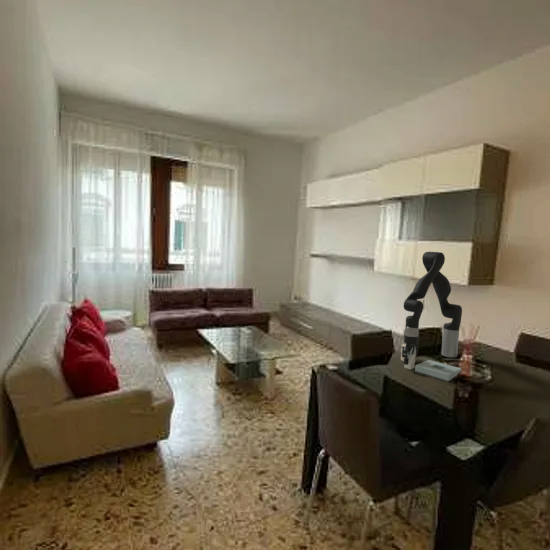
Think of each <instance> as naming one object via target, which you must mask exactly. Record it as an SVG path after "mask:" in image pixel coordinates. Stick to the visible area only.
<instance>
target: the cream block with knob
mask: <svg viewBox="0 0 550 550" xmlns="http://www.w3.org/2000/svg"><path fill="white" fill-rule="evenodd" d="M407 355H408V354H407ZM415 363H416V362H415V354H412V353H411V355H409V360H408V365H406V364H404V363H403V364H404V366H403V368H405V369H407V370H414V369H415Z"/></svg>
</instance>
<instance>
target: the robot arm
mask: <svg viewBox="0 0 550 550" xmlns="http://www.w3.org/2000/svg"><path fill="white" fill-rule="evenodd" d="M445 259H446V257H445V254H444V253H443V252H441V251H440V252H439V251H426V252H424V253H423V254H422V259H421V260H422V264H423V266H424V269H425V270H426V274H424V275H423V276H422V277H421V278H419V280H418V281H417V282H416V283H415V285H414V288H413V290H412V292H410V294H409V295H408V296H407V298H406V299H404V302H403V309H404V310H405V311H406V312H410V313H413V314H412V315H408V316H406V317H405V327H404V335H403V336H404V337H403V342H404V344H406V347H404V346H403V348H402V347H401V348H402V357H404V362H403V364H406V365H408V360H409V355H411V353H412V354H415V356H416V357H417V355H418V354H419V336H420V335H419V334H420V329H419V326H420V319H421V316H422V313H423V311H424V303H423V302H422V299H425V297H426V295H427V293H428V291H429V288H430V286H431V285H432V286H433V289H434V292H435V294H436V297H437V300H438V304H439V307H440V311H441V314H442V316H443V317H444V318H447V319H451V322H446V323H444V324H443V326H442V327H443V328H442V341H441V354H440V355H441V356H444V357H447V358H457V357H458V352H459V351H458V349H459V338H460V326H461V322H462V316H463V308H462V305H460V304H454V303H449V301H448V298H449V296H450V294H451V292H452V286H451V283H450V281H449V279H448V277H446V276H445V275H444V274H443V273H442V272H441V269H442V268H443V266H444V264H445ZM408 352H409V353H408ZM404 353H405V354H404ZM407 354H408V355H407Z"/></svg>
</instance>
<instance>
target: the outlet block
mask: <svg viewBox="0 0 550 550" xmlns="http://www.w3.org/2000/svg"><path fill="white" fill-rule="evenodd" d="M460 371H461V372H462V368H461V367H457V366H453V365H449V364H445V363H441V362H438V361H435V360H431V359H427V360H425V361H423V362H421V363H418V364H416V365H415V364H414V373H415V374H419V375H422V376H426V377H429V378H433V379H436V380H439V381H442V382H444V383H450V382H451V380H452V379H453V378H454V377H455V376H456V375H457V374H458V373H459V372H460ZM449 381H450V382H449ZM452 381H453V380H452Z"/></svg>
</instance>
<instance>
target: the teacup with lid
mask: <svg viewBox="0 0 550 550" xmlns="http://www.w3.org/2000/svg"><path fill="white" fill-rule="evenodd" d="M403 346H404V347H406V343H403V344H401V345H400V347H401V348H400V349H401V350H400V360H401V362H403V363H404V357H402V348H403ZM408 353H409V352H408ZM404 354H405V353H404ZM416 361H417V355H416V356H415V363H416Z"/></svg>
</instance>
